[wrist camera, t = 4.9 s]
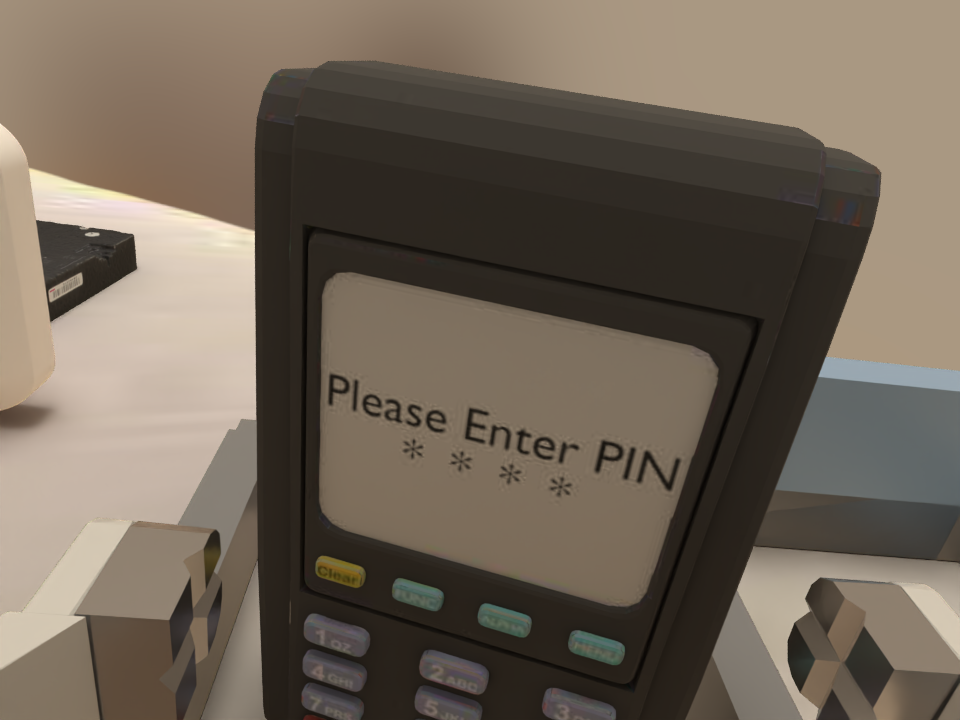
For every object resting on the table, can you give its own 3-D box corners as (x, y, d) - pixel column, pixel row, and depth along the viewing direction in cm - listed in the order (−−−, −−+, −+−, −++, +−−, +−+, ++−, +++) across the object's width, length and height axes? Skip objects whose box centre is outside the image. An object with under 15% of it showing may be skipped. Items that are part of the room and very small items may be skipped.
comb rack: (24, 961, 12) (-53, 682, 9) (244, 473, 26) (242, 294, 23) (1426, 987, 15) (1714, 776, 12) (965, 533, 28) (1047, 380, 25)
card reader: (233, 758, 16) (213, 49, 10) (314, 631, 20) (338, 51, 13) (631, 900, 14) (919, 164, 8) (640, 733, 18) (845, 131, 12)
